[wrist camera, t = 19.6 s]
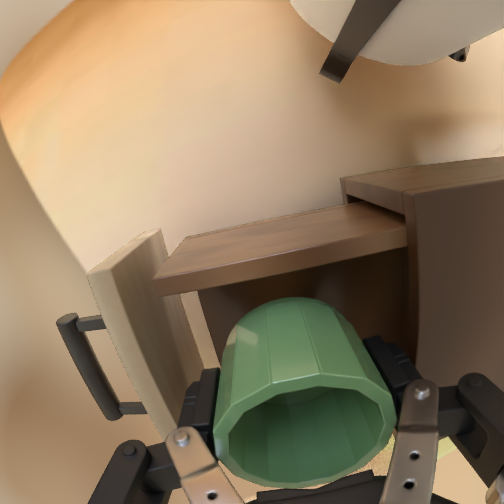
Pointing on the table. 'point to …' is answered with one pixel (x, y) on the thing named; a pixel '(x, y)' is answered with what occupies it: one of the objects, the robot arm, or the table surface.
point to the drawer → (235, 295)
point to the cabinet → (449, 262)
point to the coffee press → (399, 29)
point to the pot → (299, 397)
